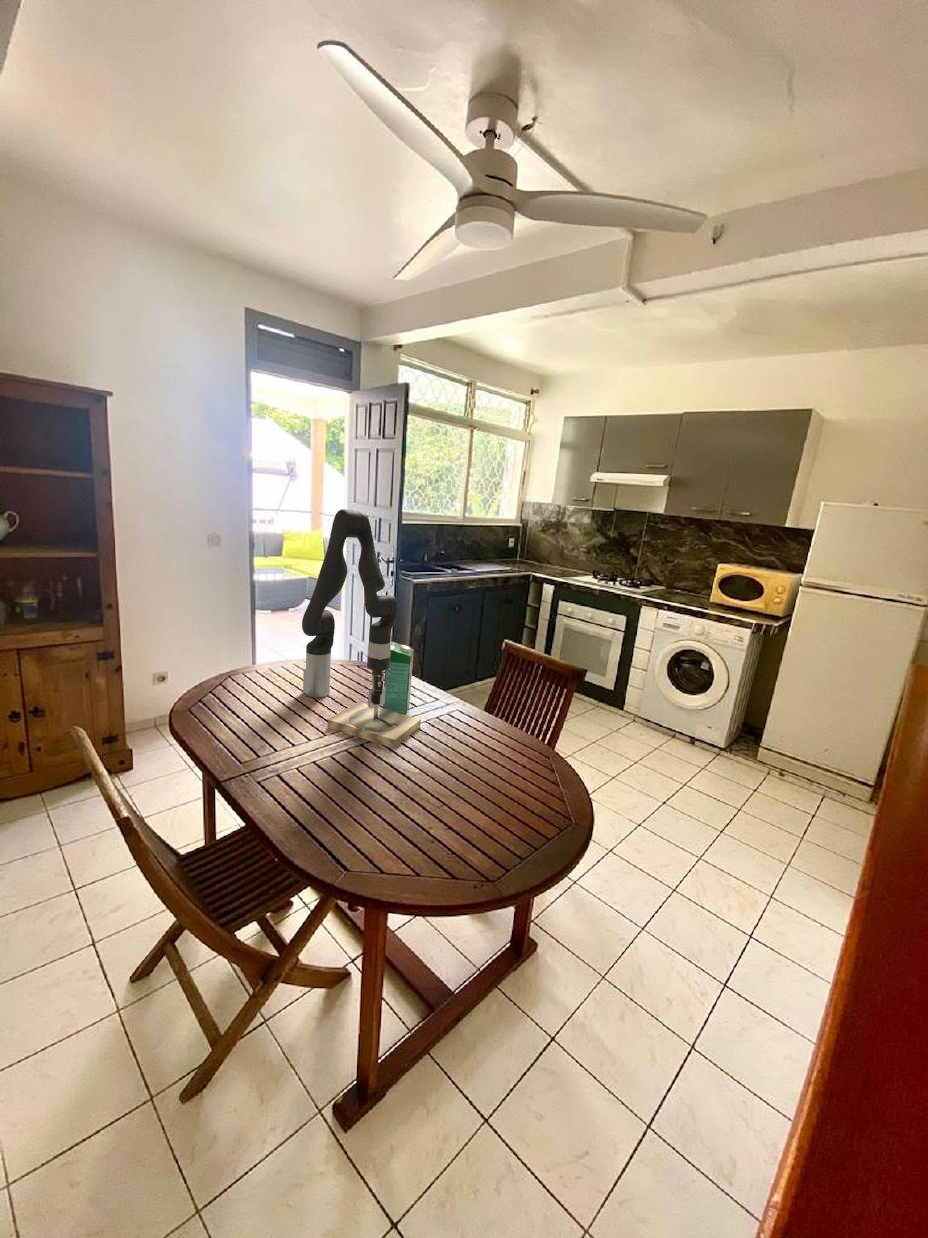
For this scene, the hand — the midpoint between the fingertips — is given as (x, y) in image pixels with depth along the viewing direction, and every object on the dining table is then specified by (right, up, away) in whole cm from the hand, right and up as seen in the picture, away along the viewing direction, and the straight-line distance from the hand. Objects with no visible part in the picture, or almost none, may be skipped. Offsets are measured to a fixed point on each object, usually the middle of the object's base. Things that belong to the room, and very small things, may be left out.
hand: (376, 702), depth 170 cm
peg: (+3, -7, -1) cm, 7 cm away
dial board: (-1, -9, +2) cm, 10 cm away
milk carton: (+4, -6, +19) cm, 21 cm away
